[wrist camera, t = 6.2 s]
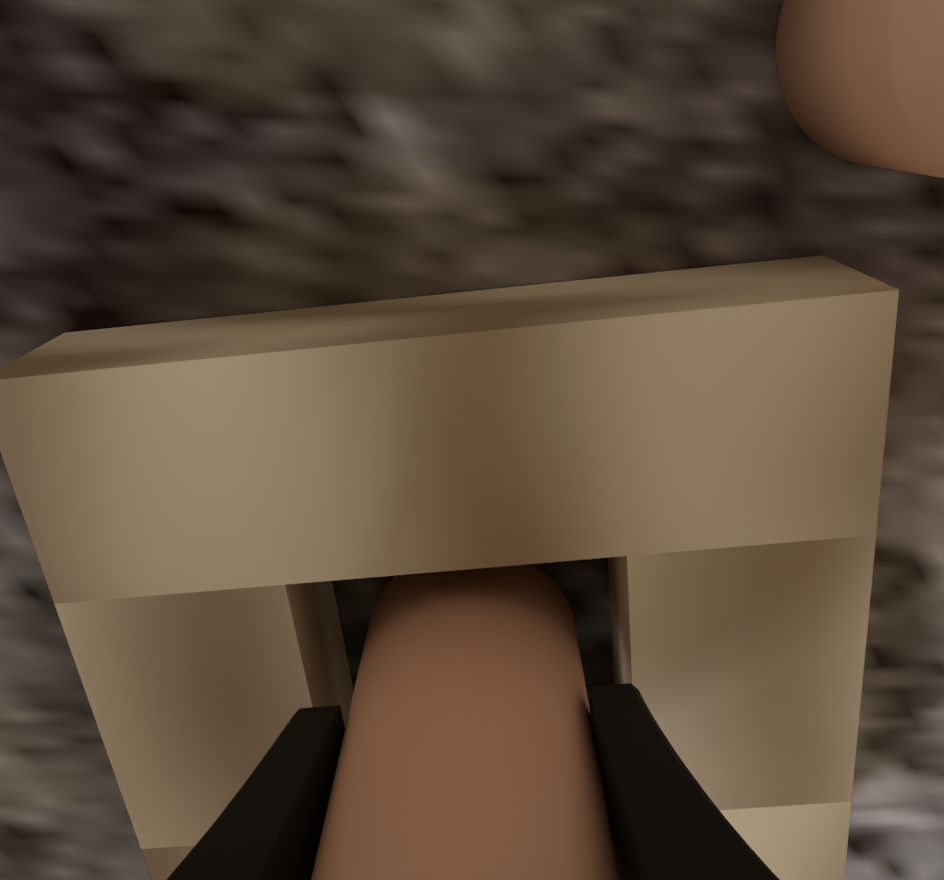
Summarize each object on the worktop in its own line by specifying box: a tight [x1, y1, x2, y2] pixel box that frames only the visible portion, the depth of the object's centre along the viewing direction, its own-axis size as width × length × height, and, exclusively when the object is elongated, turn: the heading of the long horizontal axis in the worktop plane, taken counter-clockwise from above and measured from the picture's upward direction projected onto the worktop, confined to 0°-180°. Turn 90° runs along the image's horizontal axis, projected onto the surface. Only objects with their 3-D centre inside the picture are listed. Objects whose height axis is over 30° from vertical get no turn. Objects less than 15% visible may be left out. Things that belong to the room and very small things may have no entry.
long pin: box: [311, 564, 619, 880], centre depth 11 cm, size 4×4×7 cm
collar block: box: [0, 255, 899, 880], centre depth 14 cm, size 12×12×2 cm
